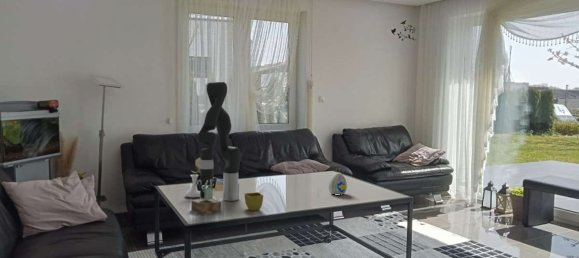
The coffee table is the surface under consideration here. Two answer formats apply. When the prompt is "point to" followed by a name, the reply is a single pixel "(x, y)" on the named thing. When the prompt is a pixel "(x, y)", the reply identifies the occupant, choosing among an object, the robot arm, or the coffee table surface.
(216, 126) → the robot arm
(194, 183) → the flower in vase
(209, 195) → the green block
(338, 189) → the decorative egg
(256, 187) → the coffee table surface
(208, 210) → the walnut box
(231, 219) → the coffee table surface
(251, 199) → the flower pot
